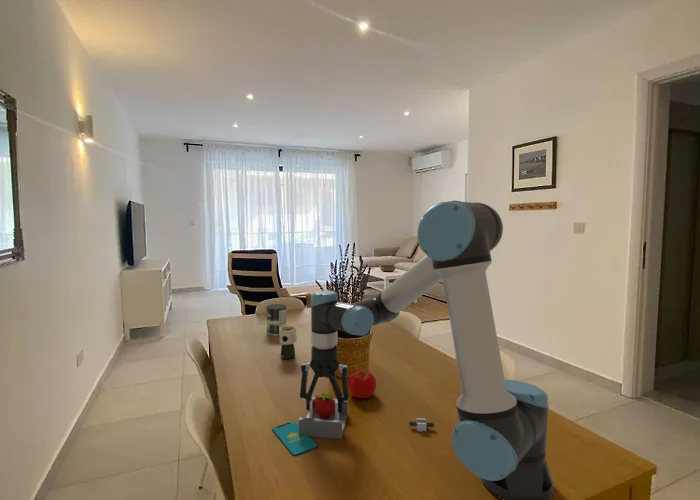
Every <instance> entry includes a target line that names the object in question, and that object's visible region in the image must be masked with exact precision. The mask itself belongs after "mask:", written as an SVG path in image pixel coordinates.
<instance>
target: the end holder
mask: <svg viewBox="0 0 700 500" xmlns="http://www.w3.org/2000/svg"><path fill="white" fill-rule="evenodd" d="M312 397H313V396H311V398H312ZM336 399H337V398H333V400H334V401H335V402H336ZM314 400H315V397H314ZM348 416H349V399H348V400H347V401H343V409H342V412H341V413H339V420H335V410H334V413H333V415H332V416H331V417H330V419H321V418H320V417H319V415H318V414H317V412H316V411H315V407H314V418H310V411H308V413H307V414H306V417H301V416H300V417H299V418H298V425H299V434H301V435H308V436H309V437H310V438H312V437H315V438H324V439H325V438H328V439H339V440H342V439H343V435H344V432H345V427H346V424H345V423H346V422H347V420H346V419H347V418H348Z"/></svg>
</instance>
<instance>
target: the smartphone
mask: <svg viewBox="0 0 700 500" xmlns="http://www.w3.org/2000/svg"><path fill="white" fill-rule="evenodd" d="M271 430H272V432H273V434H275V436H276V437H277V439H279V440H280V442H281V443H282V444H283V446H284V447H285V448H286V449H287V450H288V451H289V453H290V454H291V455H292V456H293V457H295V456H296V457H297V456H299V455H302V454H305V453H308V452H310V451H313V450H315V449H318V444H317V443H316V442H315V441H314V440H313V438H312V437H311V436H308V435H301V434H299V423H297V421H290V422H287V423H284V424H281V425H277V426H275V427H273V428H272V429H271Z"/></svg>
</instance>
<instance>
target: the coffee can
mask: <svg viewBox="0 0 700 500" xmlns="http://www.w3.org/2000/svg"><path fill="white" fill-rule="evenodd" d="M284 326H287V305H285V304H282V303H281V304H278V303H277V304H269V305H267V306H266V334H267V336H268V335H269V336H271V337H272V336H274V337H276V336H277V337H280V336H279V329H280V327H284Z"/></svg>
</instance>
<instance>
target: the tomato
mask: <svg viewBox="0 0 700 500" xmlns="http://www.w3.org/2000/svg"><path fill="white" fill-rule="evenodd" d="M376 388H377V382H376V378H375V375H373V373H372V372H367V371H366V372H364V371H363V370H359V371H358V372H356V373H353V374H351V375H350V377H349V379H348V390H349V392H350V393H351V394H352V395H353V397H355V398H357V399H367V398H370V397H372V396H373V394H374V393H375V390H376Z"/></svg>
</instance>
